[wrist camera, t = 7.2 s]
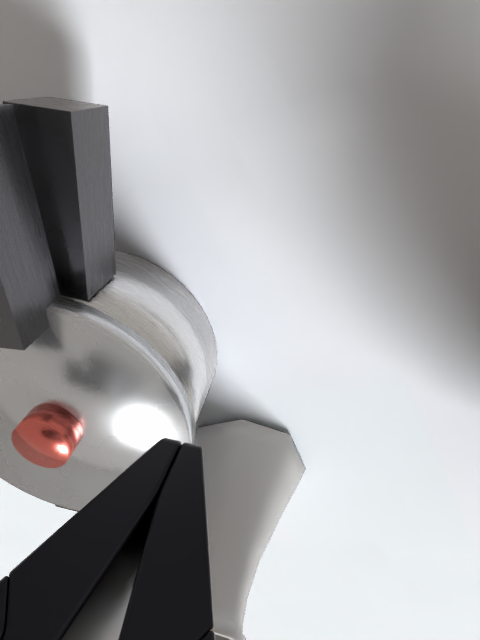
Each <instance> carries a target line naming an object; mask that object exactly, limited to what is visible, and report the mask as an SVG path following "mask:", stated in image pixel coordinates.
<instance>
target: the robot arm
mask: <svg viewBox="0 0 480 640" xmlns="http://www.w3.org/2000/svg"><path fill="white" fill-rule="evenodd" d="M213 630H214V618H213V602H212V587H211V571H210V556H209V540H208V525H207V509H206V494H205V478H204V463H203V449H202V447H201V446H200V445H196V444H191V443H187V442H185V443H183V444H182V443H181V442H180V441H178V440H173V439H169V438H162V439H160V440H159V441H158V442H156V443H155V444H154V445H153V446H152V447H151V448H150V449H149V450H147V451H146V452H145V453H144V454H143V455H142V456H141V457H140V458H138V459H137V460H136V461H135V462H134V463H133V464H132V465H131V466H129V467H128V468H127V469H126V470H125V471H124V472H123V473H121V474H120V475H119V476H118V477H117V478H116V479H115V480H114V481H112V482H111V483H110V484H109V485H108V486H107V487H106V488H105V489H103V490H102V491H101V492H100V493H99V494H98V495H97V496H96V497H94V498H93V499H92V500H91V501H90V502H89V503H88V504H86V505H85V506H84V507H83V508H82V509H81V510H80V511H79V512H77V513H76V514H75V515H74V516H73V517H72V518H71V519H70V520H68V521H67V522H66V523H65V524H64V525H63V526H62V527H61V528H59V529H58V530H57V531H56V532H55V533H54V534H53V535H51V536H50V537H49V538H48V539H47V540H46V541H45V542H44V543H42V544H41V545H40V546H39V547H38V548H37V549H36V550H35V551H33V552H32V553H31V554H30V555H29V556H28V557H27V558H26V559H24V560H23V561H22V562H21V563H20V564H19V565H18V566H16V567H15V568H14V569H13V570H12V571H11V572H10V574H9V577H8V576H5V577H4V578H3V579H1V580H0V640H215V633H214V632H213Z"/></svg>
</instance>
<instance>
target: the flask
mask: <svg viewBox="0 0 480 640" xmlns="http://www.w3.org/2000/svg"><path fill="white" fill-rule="evenodd" d="M195 444H196V445H200V446H201V447H202V449H203V463H204V478H205V494H206V509H207V525H208V540H209V556H210V571H211V587H212V602H213V618H214V630H213V632H214V633H215V640H246V638H245V636H244V635H243V634H242V628H243V620H244V614H245V608H246V602H247V598H248V595H249V592H250V588H251V585H252V582H253V579H254V576H255V573H256V570H257V567H258V564H259V561H260V559H261V557H262V555H263V552H264V550H265V548H266V546H267V544H268V542H269V540H270V538H271V536H272V534H273V532H274V530H275V528H276V526H277V524H278V522H279V519H280V518H281V516H282V514H283V512H284V510H285V508H286V506H287V504H288V502H289V501H290V499H291V497H292V495H293V493H294V491H295V489H296V487H297V485H298V484H299V482H300V480H301V478H302V476H303V473H304V471H305V469H306V468H305V466H304V464H303V462H302V459H301V457H300V455H299V453H298V451H297V449H296V446H295V444H294V442H293V440H292V438H291V436H290V434H287V433H284V432H280V431H277V430H274V429H271V428H268V427H265V426H262V425H259V424H255V423H252V422H249V421H246V420H243V419H241V420H235V421H230V422H224V423H219V424H213V425H208V426H202V427H198V430H197V434H196V440H195Z"/></svg>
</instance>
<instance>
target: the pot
mask: <svg viewBox="0 0 480 640" xmlns="http://www.w3.org/2000/svg"><path fill="white" fill-rule="evenodd" d="M3 104H13V106H14V110H15V114H16V118H17V122H18V126H19V130H20V134H21V138H22V142H23V146H24V150H25V154H26V158H27V162H28V166H29V170H30V174H31V178H32V182H33V186H34V190H35V194H36V198H37V202H38V206H39V210H40V214H41V218H42V222H43V226H44V230H45V235H46V239H47V243H48V247H49V251H50V255H51V259H52V263H53V267H54V271H55V275H56V279H57V283H58V287H59V291H60V295H61V297H65V298H69V299H72V300H75V301H78V302H81V303H83V304H86V305H88V306H91V307H94V308H96V309H98V310H99V311H101V312H103V313H105V314H107V315H109V316H111V317H113V318H115V319H116V320H118V321H119V322H121V323H122V324H124V325H126V326H127V327H129V328H130V329H132V330H133V331H134V332H135V333H137V334H138V335H139V336H140V337H142V338H143V339H144V340H145V341H147V342H148V343H149V344H150V345H151V346H152V347H153V348H154V349H155V350H156V351H157V352H158V353H159V354H160V355H161V356H162V357H163V359H164V360H165V361H166V362H167V363H168V365H169V366H170V367H171V368H172V370H173V371H174V373H175V374H176V376H177V377H178V379H179V380H180V382H181V383H182V385H183V387H184V389H185V391H186V393H187V395H188V397H189V400H190V403H191V406H192V409H193V412H194V418H195V424H196V423H197V420H198V417H199V415H200V412H201V409H202V407H203V404H204V401H205V399H206V396H207V393H208V391H209V388H210V385H211V383H212V380H213V377H214V375H215V371H216V365H217V347H216V340H215V337H214V333H213V330H212V327H211V325H210V322H209V320H208V318H207V316H206V314H205V313H204V311H203V309H202V308H201V306H200V304H199V303H198V302H197V301H196V299H195V298H194V297H193V295H192V294H191V293H190V292H189V291H188V290H187V289H186V288H185V287H184V286H183V285H182V284H181V283H180V282H179V281H178V280H176V279H175V278H174V277H173V276H171V275H170V274H169V273H167V272H166V271H164V270H163V269H161V268H160V267H158V266H157V265H155V264H153V263H151V262H149V261H147V260H145V259H143V258H140V257H137V256H135V255H132V254H129V253H125V252H121V251H117V250H115V240H114V219H113V198H112V178H111V157H110V136H109V116H108V106H106V105H100V104H93V103H86V102H79V101H73V100H66V99H59V98H52V97H44V98H33V99H22V100H11V101H3ZM56 506H57V507H61V508H65V507H62V506H58V505H56ZM65 509H69V508H65ZM69 510H73V509H69ZM73 511H77V512H79V511H78V510H73Z"/></svg>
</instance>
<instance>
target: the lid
mask: <svg viewBox="0 0 480 640" xmlns="http://www.w3.org/2000/svg"><path fill="white" fill-rule="evenodd" d="M162 438H169V439H173V440H178V441H180V442H181V443H182V444H183V443H185V442H187V443H191V444H195V440H196V424H195V418H194V412H193V409H192V406H191V403H190V400H189V397H188V395H187V393H186V391H185V389H184V387H183V385H182V383H181V382H180V380H179V379H178V377H177V376H176V374H175V373H174V371H173V370H172V368H171V367H170V366H169V365H168V363H167V362H166V361H165V360H164V359H163V357H162V356H161V355H160V354H159V353H158V352H157V351H156V350H155V349H154V348H153V347H152V346H151V345H150V344H149V343H148V342H147V341H145V340H144V339H143V338H142V337H140V336H139V335H138V334H137V333H135V332H134V331H133V330H132V329H130V328H129V327H127V326H126V325H124V324H122V323H121V322H119V321H118V320H116V319H115V318H113V317H111V316H109V315H107V314H105V313H103V312H101V311H99V310H98V309H96V308H94V307H91V306H88V305H86V304H83V303H81V302H78V301H75V300H72V299H69V298H65V297H61V295H60V291H59V287H58V283H57V279H56V275H55V271H54V267H53V263H52V259H51V255H50V251H49V247H48V243H47V239H46V235H45V230H44V226H43V222H42V218H41V214H40V210H39V206H38V202H37V198H36V194H35V190H34V186H33V182H32V178H31V174H30V170H29V166H28V162H27V158H26V154H25V150H24V146H23V142H22V138H21V134H20V130H19V126H18V122H17V118H16V114H15V110H14V106H13V104H0V478H2V479H3V480H5V481H6V482H8V483H10V484H11V485H13V486H15V487H17V488H18V489H20V490H22V491H24V492H26V493H28V494H30V495H32V496H35V497H37V498H39V499H42V500H44V501H47V502H49V503H52V504H55V505H58V506H62V507H65V508H69V509H73V510H78V511H80V510H81V509H82V508H83V507H84V506H85V505H86V504H88V503H89V502H90V501H91V500H92V499H93V498H94V497H96V496H97V495H98V494H99V493H100V492H101V491H102V490H103V489H105V488H106V487H107V486H108V485H109V484H110V483H111V482H112V481H114V480H115V479H116V478H117V477H118V476H119V475H120V474H121V473H123V472H124V471H125V470H126V469H127V468H128V467H129V466H131V465H132V464H133V463H134V462H135V461H136V460H137V459H138V458H140V457H141V456H142V455H143V454H144V453H145V452H146V451H147V450H149V449H150V448H151V447H152V446H153V445H154V444H155V443H156V442H158V441H159V440H160V439H162Z"/></svg>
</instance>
